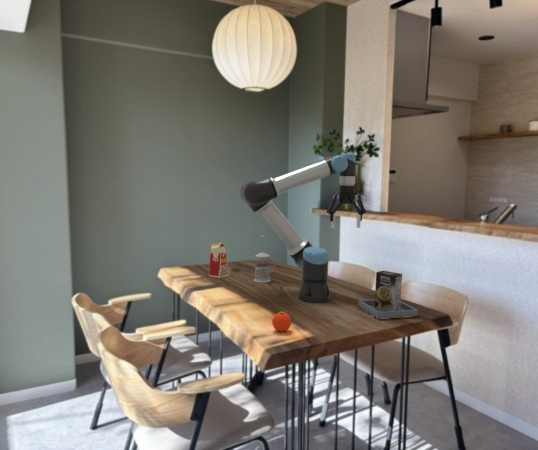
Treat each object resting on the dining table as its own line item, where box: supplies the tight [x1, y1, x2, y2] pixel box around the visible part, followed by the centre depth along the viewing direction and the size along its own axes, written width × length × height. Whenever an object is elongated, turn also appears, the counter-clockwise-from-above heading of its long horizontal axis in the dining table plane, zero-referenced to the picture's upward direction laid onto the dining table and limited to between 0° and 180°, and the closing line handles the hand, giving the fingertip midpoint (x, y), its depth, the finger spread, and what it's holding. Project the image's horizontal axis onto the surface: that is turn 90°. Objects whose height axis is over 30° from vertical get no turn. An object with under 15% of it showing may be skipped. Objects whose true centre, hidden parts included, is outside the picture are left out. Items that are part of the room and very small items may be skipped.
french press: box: [253, 235, 276, 283], centre depth 236 cm, size 10×12×25 cm
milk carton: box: [208, 241, 230, 279], centre depth 246 cm, size 9×9×20 cm
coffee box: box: [374, 270, 403, 312], centre depth 182 cm, size 9×6×16 cm
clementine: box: [271, 311, 292, 333], centre depth 158 cm, size 8×7×7 cm
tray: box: [357, 299, 419, 320], centre depth 183 cm, size 18×18×3 cm
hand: (345, 227), depth 216 cm, fingers open, 13 cm apart
